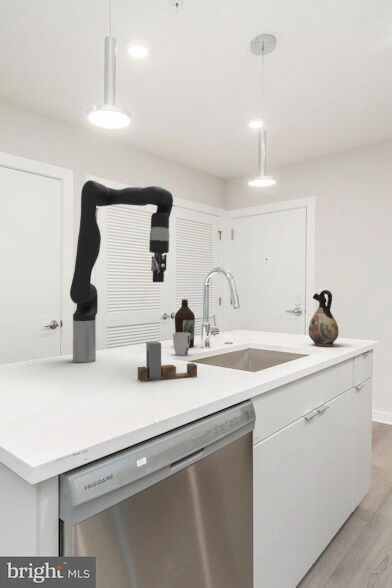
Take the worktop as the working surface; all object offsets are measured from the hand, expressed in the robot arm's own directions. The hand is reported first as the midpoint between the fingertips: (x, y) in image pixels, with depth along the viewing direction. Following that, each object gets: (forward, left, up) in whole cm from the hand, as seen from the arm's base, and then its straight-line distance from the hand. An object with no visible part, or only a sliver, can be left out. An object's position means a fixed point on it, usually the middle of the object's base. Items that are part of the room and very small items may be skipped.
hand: (158, 282), depth 148 cm
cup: (+17, +24, -33) cm, 45 cm away
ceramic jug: (+98, +25, -33) cm, 107 cm away
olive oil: (+26, +46, -33) cm, 63 cm away
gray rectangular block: (-6, -18, -32) cm, 37 cm away
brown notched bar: (-1, -18, -33) cm, 38 cm away
